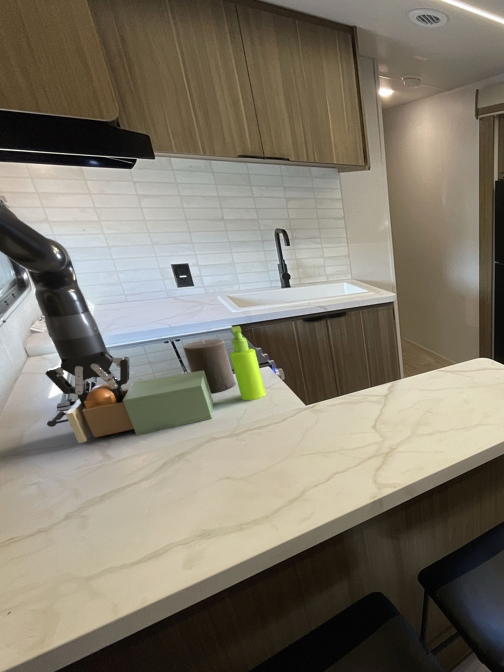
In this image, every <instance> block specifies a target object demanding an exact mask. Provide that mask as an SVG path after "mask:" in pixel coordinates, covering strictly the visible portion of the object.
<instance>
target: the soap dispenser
mask: <svg viewBox="0 0 504 672" xmlns="http://www.w3.org/2000/svg"><path fill="white" fill-rule="evenodd" d="M230 329H231V330H232V333H233V336H234V338H232V339H231V343H232V347H233V351H231V352H229V357H230V358H229V359H230V361H231V364H232V365H231V366H232V369H233V373H234V375H235V380H236V382H237V383H236V384H237V386H238V389H239V393H240V397H241V399H242V401H255V400H258V399H261V398H264V397H265V396H266V394H267V393H266V389H265V385H264V380H263V376H262V372H261V369H260V364H259V360H258V357H257V352H256V350H255V348H250V347H249V344H248V340H247V337H244V336H243V334H242V332H243V331H242V328H241V326H240V325H235V326H231V328H230Z"/></svg>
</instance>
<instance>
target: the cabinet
mask: <svg viewBox="0 0 504 672" xmlns="http://www.w3.org/2000/svg"><path fill="white" fill-rule="evenodd" d="M128 389H129V390H128V392H127V394H126V395H125V397H124V399H123V402H124V405H125V408H126V410H127V413H128V415H129V418H130V420H131V423H132V425H133V428H134V429H133V431H134V432H135V435H136V436H141V435H144V434H148V433H153V432H157V431H162V430H166V429H171V428H175V427H180V426H185V425H189V424H193V423H198V422H202V421H207V420H211V419H213V411H214V410H213V409H214V399H213V396H212V393H211V392H210V389H209V386H208V382H207V379H206V376H205V373H204V370H203V371H197V372H191V371H190V372H187V373H181V374H175V375H168V376H163V377H162V376H161V377H157V378H152V379H144V380H140V381H133V383H132V384H131V385H130V387H129V388H128Z"/></svg>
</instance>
